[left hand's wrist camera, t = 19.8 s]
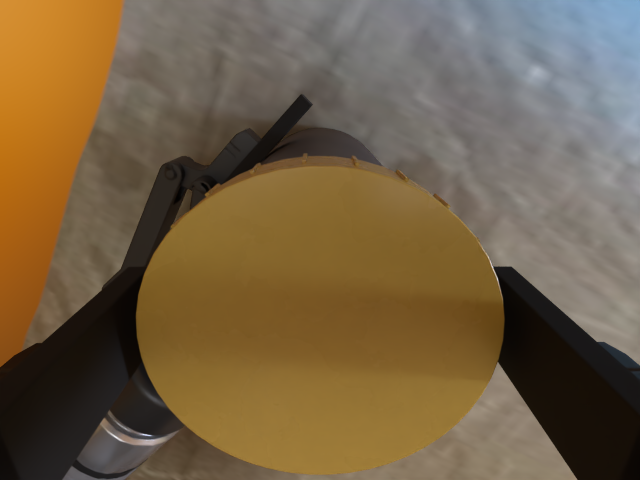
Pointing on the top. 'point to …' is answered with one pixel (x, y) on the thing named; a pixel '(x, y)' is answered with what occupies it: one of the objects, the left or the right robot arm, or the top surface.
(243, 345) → the lid
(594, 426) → the left robot arm
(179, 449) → the top surface
